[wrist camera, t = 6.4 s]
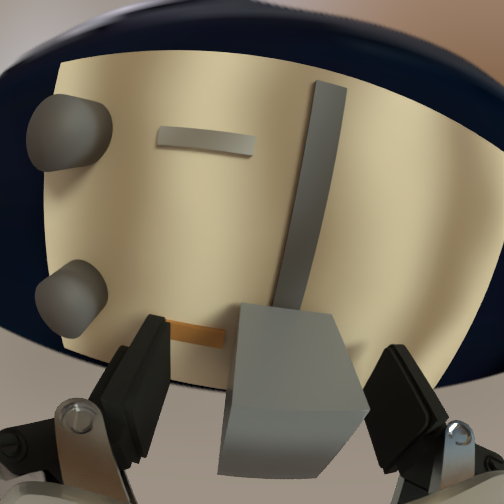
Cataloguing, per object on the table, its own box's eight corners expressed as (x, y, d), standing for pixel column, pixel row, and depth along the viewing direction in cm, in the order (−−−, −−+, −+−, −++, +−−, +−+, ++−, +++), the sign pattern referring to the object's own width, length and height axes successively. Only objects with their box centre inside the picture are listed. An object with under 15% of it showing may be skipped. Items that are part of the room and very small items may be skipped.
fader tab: (331, 314, 9) (370, 409, 5) (302, 390, 11) (316, 478, 7) (241, 302, 9) (232, 404, 5) (227, 383, 11) (217, 474, 6)
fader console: (471, 156, 11) (548, 170, 6) (406, 351, 16) (445, 415, 10) (106, 80, 10) (29, 52, 5) (97, 309, 15) (45, 371, 9)
